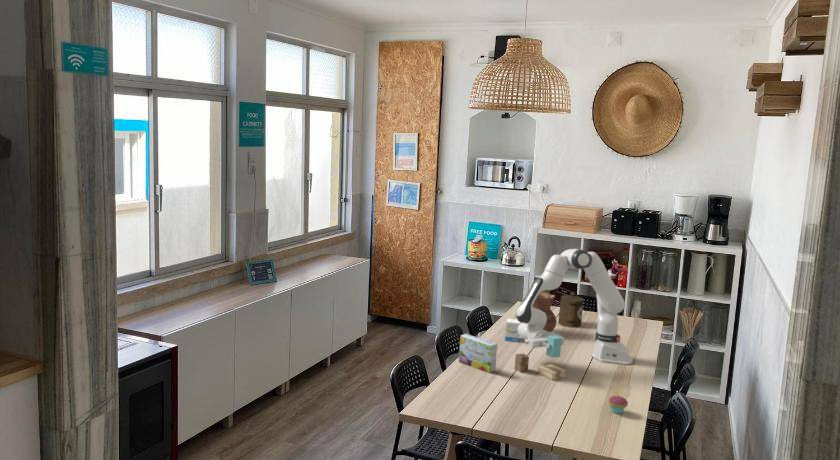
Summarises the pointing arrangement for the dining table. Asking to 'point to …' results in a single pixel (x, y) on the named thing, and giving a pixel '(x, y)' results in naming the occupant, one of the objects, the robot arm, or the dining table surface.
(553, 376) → the oak base block
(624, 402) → the cupcake
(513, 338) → the ink box
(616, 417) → the dining table surface
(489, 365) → the snack box
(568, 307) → the wooden container
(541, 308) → the jug
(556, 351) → the teal block
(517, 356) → the walnut block
